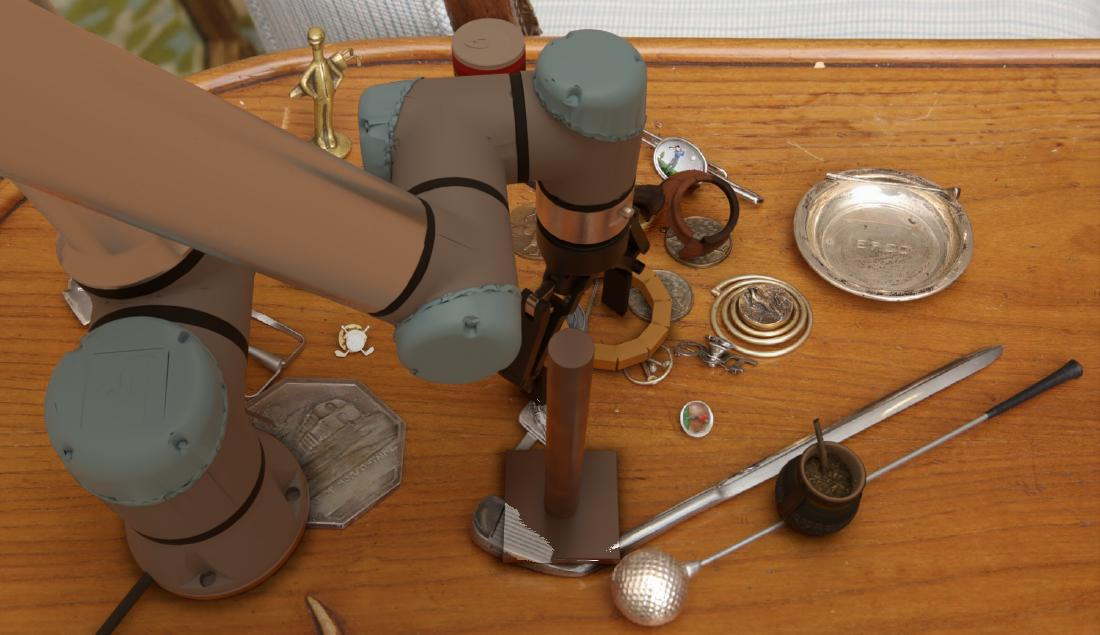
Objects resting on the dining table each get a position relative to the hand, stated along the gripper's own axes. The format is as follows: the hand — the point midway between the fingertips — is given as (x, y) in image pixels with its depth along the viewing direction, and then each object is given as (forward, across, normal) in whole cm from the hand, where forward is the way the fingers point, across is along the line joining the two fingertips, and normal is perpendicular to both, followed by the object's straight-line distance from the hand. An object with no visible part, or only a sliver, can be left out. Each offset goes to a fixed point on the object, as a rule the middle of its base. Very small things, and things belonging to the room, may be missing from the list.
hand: (574, 350), depth 90 cm
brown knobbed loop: (0, +19, +1) cm, 19 cm away
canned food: (0, +19, +27) cm, 33 cm away
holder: (0, -14, -9) cm, 16 cm away
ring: (0, +5, 0) cm, 5 cm away
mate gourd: (0, 0, -26) cm, 26 cm away
